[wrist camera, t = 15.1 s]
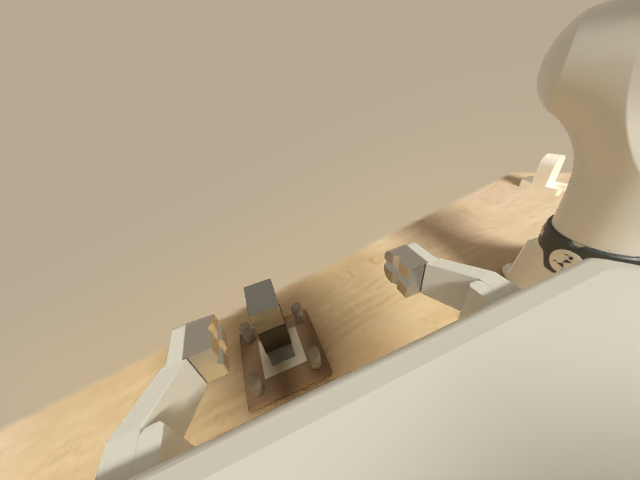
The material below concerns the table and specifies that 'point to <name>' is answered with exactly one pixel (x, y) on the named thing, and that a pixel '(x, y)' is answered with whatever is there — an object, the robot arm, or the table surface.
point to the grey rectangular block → (269, 321)
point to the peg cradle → (288, 375)
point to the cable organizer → (546, 176)
